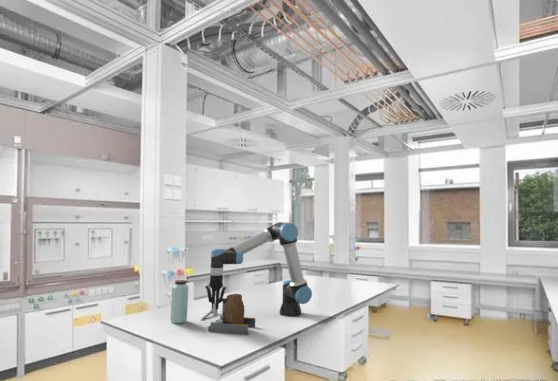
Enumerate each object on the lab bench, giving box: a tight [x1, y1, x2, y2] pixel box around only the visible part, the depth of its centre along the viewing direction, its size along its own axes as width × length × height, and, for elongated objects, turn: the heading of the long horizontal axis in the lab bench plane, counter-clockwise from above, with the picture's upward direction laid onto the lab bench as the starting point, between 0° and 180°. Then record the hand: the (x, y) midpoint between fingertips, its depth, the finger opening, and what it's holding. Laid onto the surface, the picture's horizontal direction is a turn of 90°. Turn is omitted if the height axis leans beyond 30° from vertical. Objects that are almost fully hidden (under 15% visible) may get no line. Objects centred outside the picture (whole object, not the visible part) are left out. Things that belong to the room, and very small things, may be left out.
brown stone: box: [224, 293, 245, 324], centre depth 215 cm, size 11×8×20 cm
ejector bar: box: [215, 297, 227, 323], centre depth 217 cm, size 4×18×17 cm, turn 168°
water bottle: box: [170, 279, 189, 325], centre depth 227 cm, size 10×10×25 cm
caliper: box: [200, 308, 213, 321], centre depth 240 cm, size 20×1×6 cm, turn 161°
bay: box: [207, 314, 256, 336], centre depth 215 cm, size 23×16×5 cm
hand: (214, 314), depth 218 cm, fingers closed
